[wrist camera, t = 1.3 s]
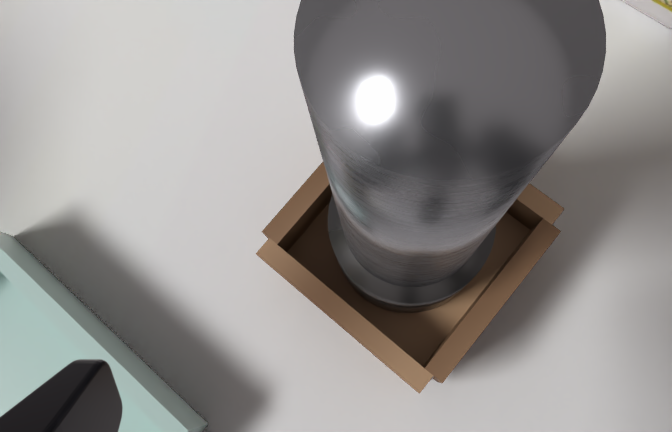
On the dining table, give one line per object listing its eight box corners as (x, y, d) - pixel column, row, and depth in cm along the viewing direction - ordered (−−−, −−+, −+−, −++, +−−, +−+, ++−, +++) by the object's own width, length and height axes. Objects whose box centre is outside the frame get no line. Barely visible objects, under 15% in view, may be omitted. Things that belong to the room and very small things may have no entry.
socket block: (549, 234, 19) (573, 215, 17) (422, 396, 18) (428, 400, 16) (390, 116, 21) (391, 83, 18) (264, 261, 20) (248, 247, 17)
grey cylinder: (507, 232, 18) (719, 2, 7) (418, 344, 18) (485, 299, 6) (395, 148, 19) (415, -179, 8) (307, 251, 19) (185, 62, 7)
